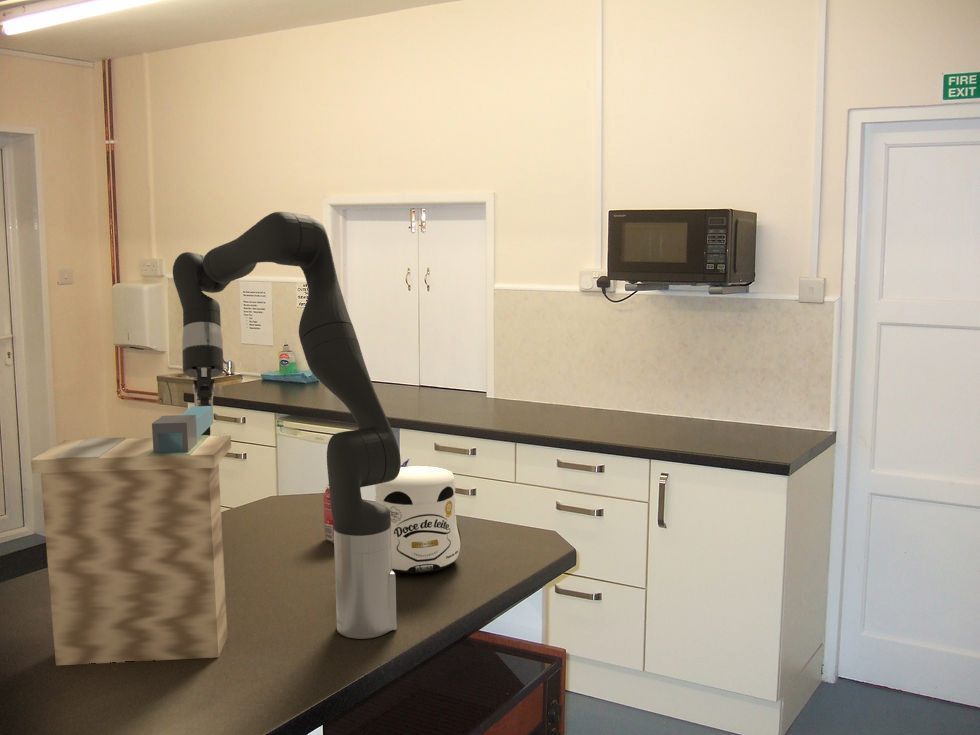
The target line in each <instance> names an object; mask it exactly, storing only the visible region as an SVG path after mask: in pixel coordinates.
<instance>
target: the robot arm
mask: <svg viewBox="0 0 980 735" xmlns="http://www.w3.org/2000/svg"><path fill="white" fill-rule="evenodd" d="M260 263H275V264H276V265H282V266H292V267H299V268H300V269H301V271H302V272H303V274H304V278H305V281H306V284H307V285H306V286H307V292H308V293H307V294H308V295H307V300H306V303H305V306H304V307H303V310H302V314H301V316H300V321H299V325H298V337H299V341H300V344H301V347H302V350H303V354H304V357H305V360H306V363H307V366H308V368H309V370H310V372H311V373H312V374H313V375H314V377H315V378H316V379H317V380H318V381H319V383H321V384H322V385H324V387H325V388H326V389H327V390H329V391H330V392H331V393H332V394H333V395H334V396H335V397H337V398H338V399H339V401H340V402H342V403H343V404H344V406H345V407H346V408H347V409H348V411H349V412H350V413H351V416H352V418H353V419H354V421H355V422H356V423H355V424H356V426H357V427H358V429H352V430H346V431H340V432H336V433H334V434H332V435H331V437H330V439H329V441H328V443H327V448H326V466H327V467H326V469H327V479H328V484H329V492H330V506H331V511H332V516H333V523H334V543H333V544H334V545H333V546H334V548H333V550H334V551H333V552H334V574H335V575H334V576H335V582H334V583H335V607H336V608H335V609H336V610H335V611H336V615H335V616H336V629H337V632H338V634H340V635H341V636H344V637H346V638H350V639H358V640H359V639H361V640H362V639H363V640H364V639H373V638H377V637H381V636H383V635H386V634H387V633H389V632H391V631H396V630H397V627H398V626H397V591H396V590H397V588H396V586H397V583H396V582H397V581H396V580H397V578H396V572H394V571H393V570H392V555H391V514H390V510H389V509H388V508H387V507H386V506H384V505H382V504H379V503H376V501H370V500H369V501H368V500H364V499H363V498H362V492H361V488H365V487H370V486H374V485H375V486H376V484H380V483H385V482H389V481H392V480H394V479H395V478H396V477H397V476H398V474H399V472H400V468H401V465H402V463H401V462H402V460H401V459H402V458H401V452H400V449H399V444H398V440H397V439H396V435H395V434H394V431H393V428H392V427H391V424H390V422H389V419H388V417H387V415H386V413H385V411H384V408H383V407H382V404H381V402H380V400H379V397H378V395H377V394H376V393H377V392H376V390H375V388H374V385H373V381H372V380H371V377H370V374H369V371H368V368H367V365H366V362H365V359H364V356H363V353H362V350H361V345H360V343H359V339H358V337H357V334H356V331H355V327H354V325H353V322H352V319H351V317H350V314H349V312H348V308H347V305H346V302H345V299H344V296H343V292H342V289H341V286H340V283H339V279H338V275H337V270H336V267H335V262H334V257H333V253H332V248H331V243H330V240H329V237H328V233H327V231H326V228H325V225H324V224H323V223H322V222H321V220H319V219H318V218H317V217H315V216H311V215H307V214H303V213H302V214H301V213H295V212H290V211H289V212H287V211H275V212H271V213H269V214H268V215H266V216H264V217H262V218H261V219H260V220H258V221H257V222H256V223H255V224H253V225H252V226H251V227H250V228H249V229H247V230H246V231H245V232H243V233H242V234H240V236H238V237H236V238H235V239H233V240H230V241H229V242H227V243H224V244H221V245H219V246H216V247H214V248H212V249H210V250H209V251H207V253H206V254H205V255H203V254H198V253H195V252H190V251H187V252H186V251H185V252H182V253H181V254H179V255H178V256H177V257H176V258H175V260H174V263H173V266H172V278H173V282H174V286H175V288H176V292H177V295H178V297H179V301H180V304H181V308H182V324H183V325H182V328H183V330H182V338H181V340H182V341H181V342H182V343H181V345H182V346H181V348H182V352H181V353H182V356H181V357H182V372H183V374H184V375H185V376H187V377H190V378H195V380H192V394H193V395H194V401H193V402H194V406H214V396H215V395H214V394H215V389H216V388H215V385H216V383H215V382H216V381H215V379H212V378H213V377H214V378H215V377H218V376H220V375H222V374H223V373H224V350H223V349H224V344H223V343H224V340H223V333H222V325H221V324H222V323H221V306H220V304H219V302H218V301H217V299H214V298H212V297H211V296H209V295H207V294H206V293H209V294H210V293H213V294H215V293H220V292H222V291H224V290H225V288H227V286H228V285H230V283H231V282H233V281H235V280H238V279H241V278H244V277H246V276H248V275H249V274H251V273H252V272H254V269H256V266H257V264H260ZM204 292H205V293H204ZM202 435H209V436H211V426H210V427H209V428H208V429H207V430H206V431H205V432H204V433H203V434H202Z"/></svg>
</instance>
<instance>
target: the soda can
mask: <svg viewBox="0 0 980 735" xmlns="http://www.w3.org/2000/svg"><path fill="white" fill-rule="evenodd" d="M325 487H326V489H325V490H324V492H323V516H324V517H323V520H324V521H323V522H324V524H323V525H324V527H323V528H324V536H325V539H326V540H327V541H328V542H329V541H330V543H332V544H334V523H333V516H332V511H331V506H330V492H329V483H328V484H327V485H326V486H325Z"/></svg>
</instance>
